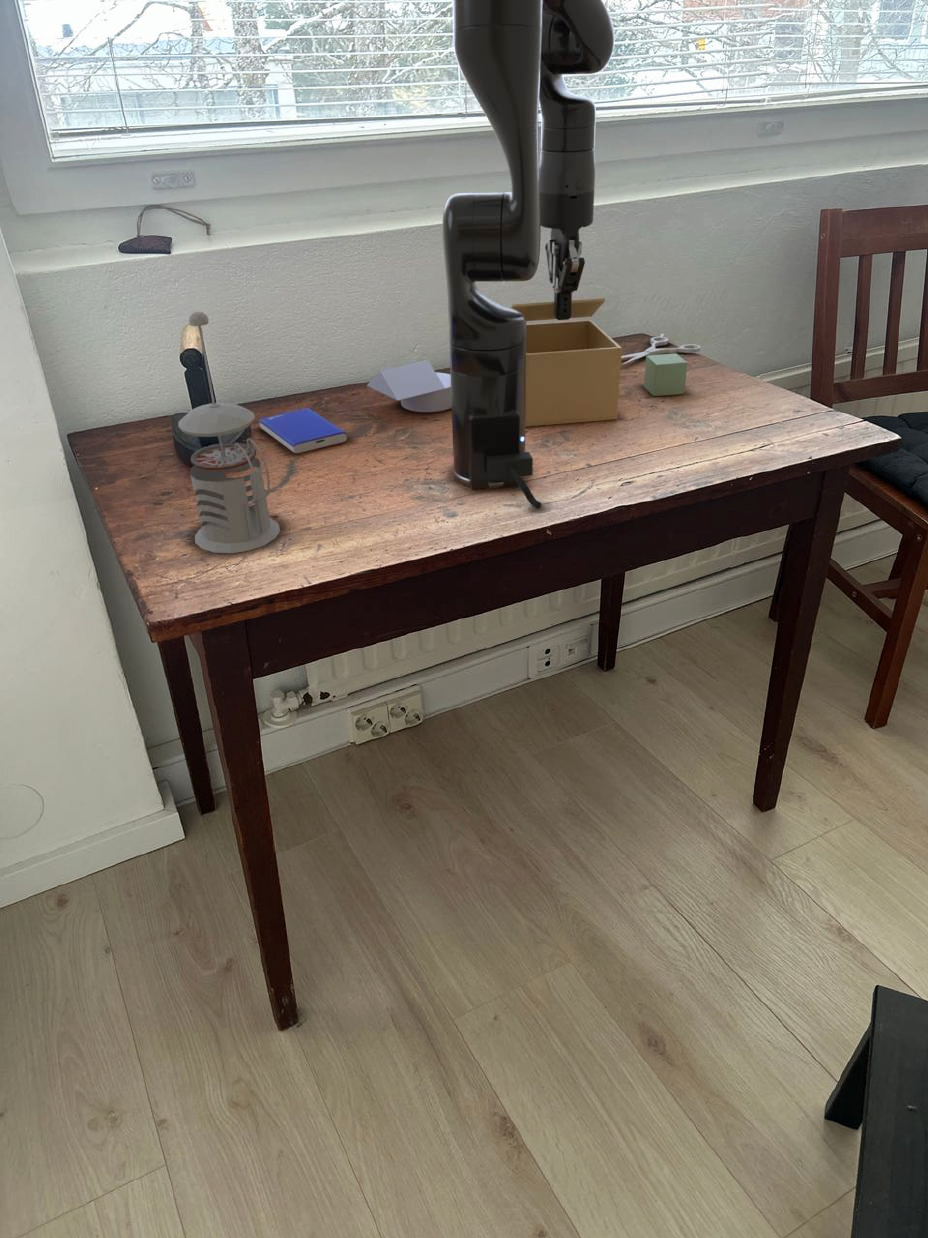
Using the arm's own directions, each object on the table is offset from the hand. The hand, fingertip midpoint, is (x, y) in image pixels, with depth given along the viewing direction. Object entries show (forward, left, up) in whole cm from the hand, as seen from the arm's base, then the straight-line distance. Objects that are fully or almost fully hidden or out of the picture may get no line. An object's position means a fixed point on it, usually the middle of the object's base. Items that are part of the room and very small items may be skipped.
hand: (562, 318), depth 129 cm
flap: (+6, 0, 0) cm, 6 cm away
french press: (-34, +46, -14) cm, 59 cm away
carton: (+1, 0, -13) cm, 13 cm away
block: (+4, -18, -13) cm, 23 cm away
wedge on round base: (+6, +21, -14) cm, 26 cm away
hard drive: (-3, +39, -14) cm, 41 cm away
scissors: (+23, -22, -13) cm, 35 cm away
